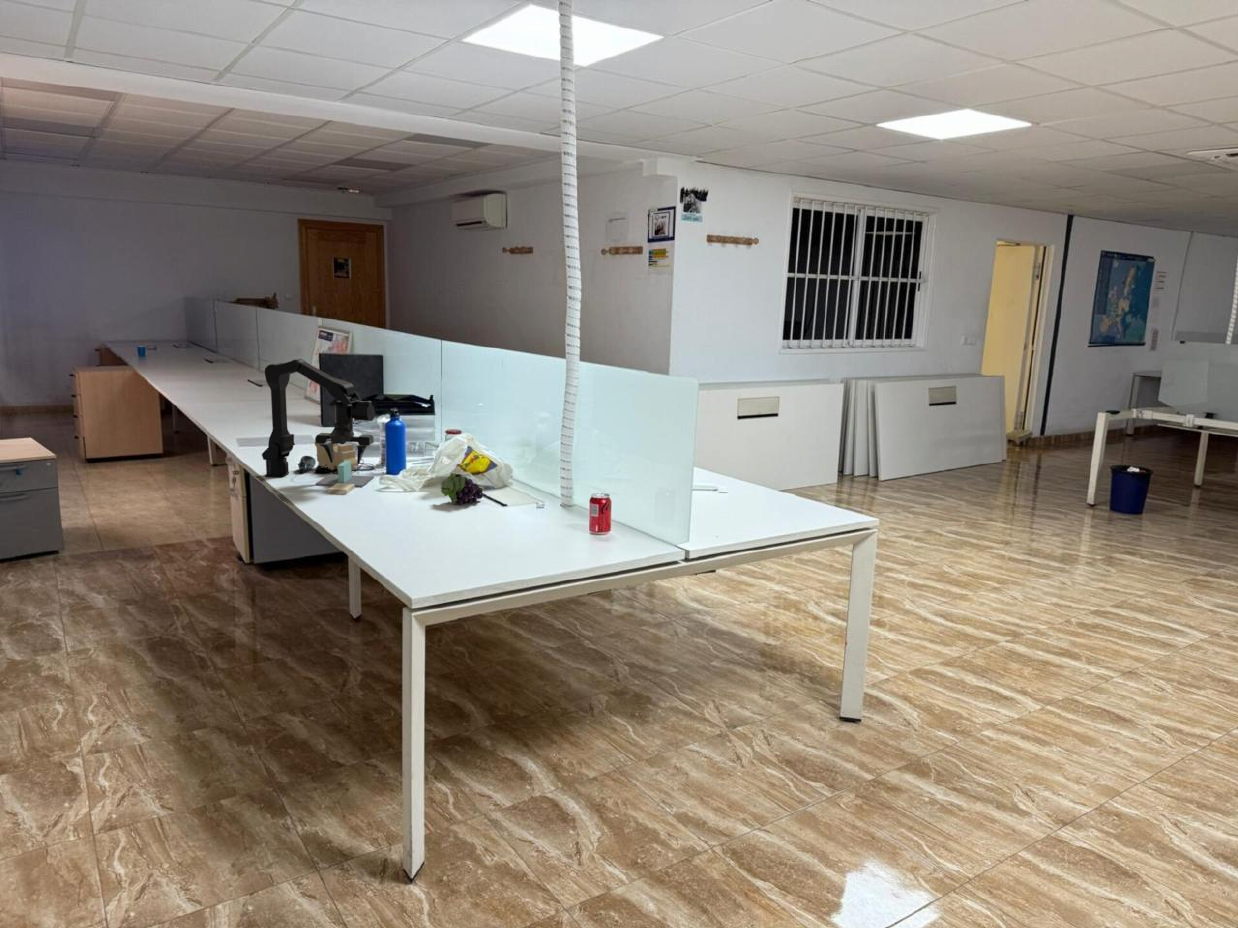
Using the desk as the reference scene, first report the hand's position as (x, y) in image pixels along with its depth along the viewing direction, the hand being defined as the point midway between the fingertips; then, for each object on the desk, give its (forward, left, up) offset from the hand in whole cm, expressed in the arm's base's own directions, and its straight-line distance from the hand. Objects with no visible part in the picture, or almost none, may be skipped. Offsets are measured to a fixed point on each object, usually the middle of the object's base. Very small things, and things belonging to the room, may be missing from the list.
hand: (345, 463), depth 303 cm
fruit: (+45, -21, -7) cm, 50 cm away
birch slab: (+3, -13, -7) cm, 15 cm away
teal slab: (0, 0, -6) cm, 6 cm away
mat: (0, 0, -6) cm, 7 cm away
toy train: (-9, +18, -7) cm, 21 cm away
